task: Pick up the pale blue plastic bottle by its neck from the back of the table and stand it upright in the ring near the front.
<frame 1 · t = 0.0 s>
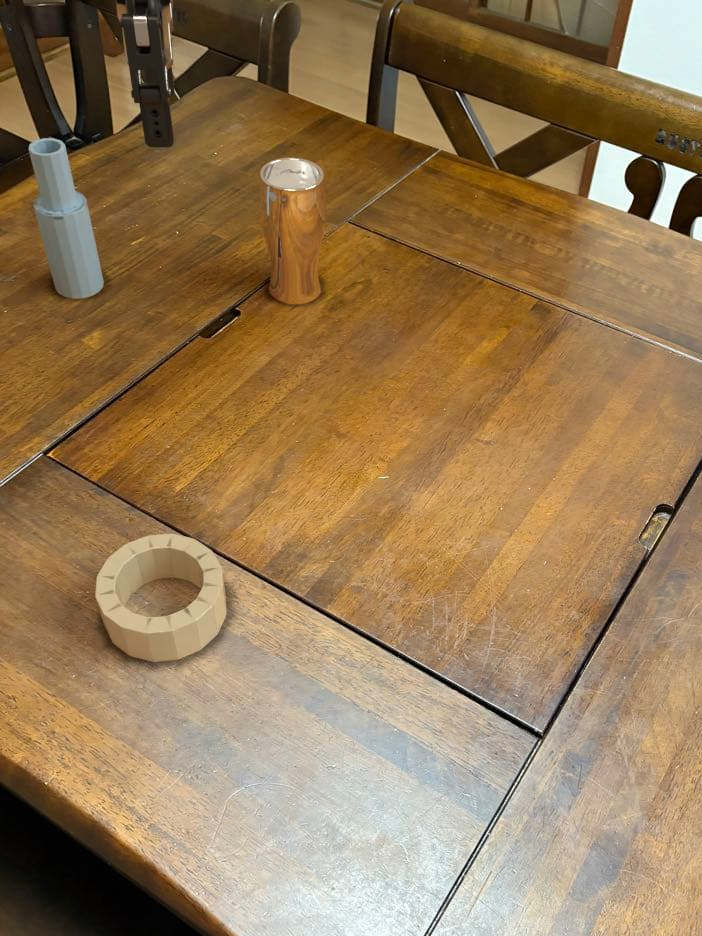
hand: (161, 119, 75), 27 cm above the table, tool pointing down, fingers open, 8 cm apart
beer glass: (295, 296, 106), on the table
ring: (167, 617, 76), on the table
bottle: (81, 291, 104), on the table
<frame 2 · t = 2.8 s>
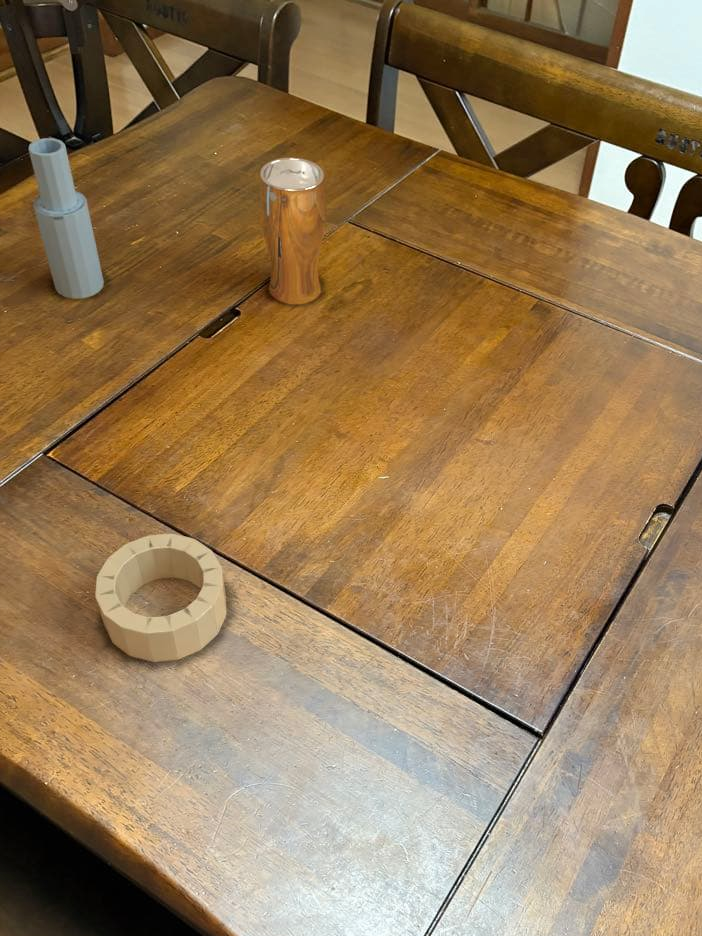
hand: (27, 50, 83), 26 cm above the table, tool pointing down, fingers open, 8 cm apart
nothing on the table moved.
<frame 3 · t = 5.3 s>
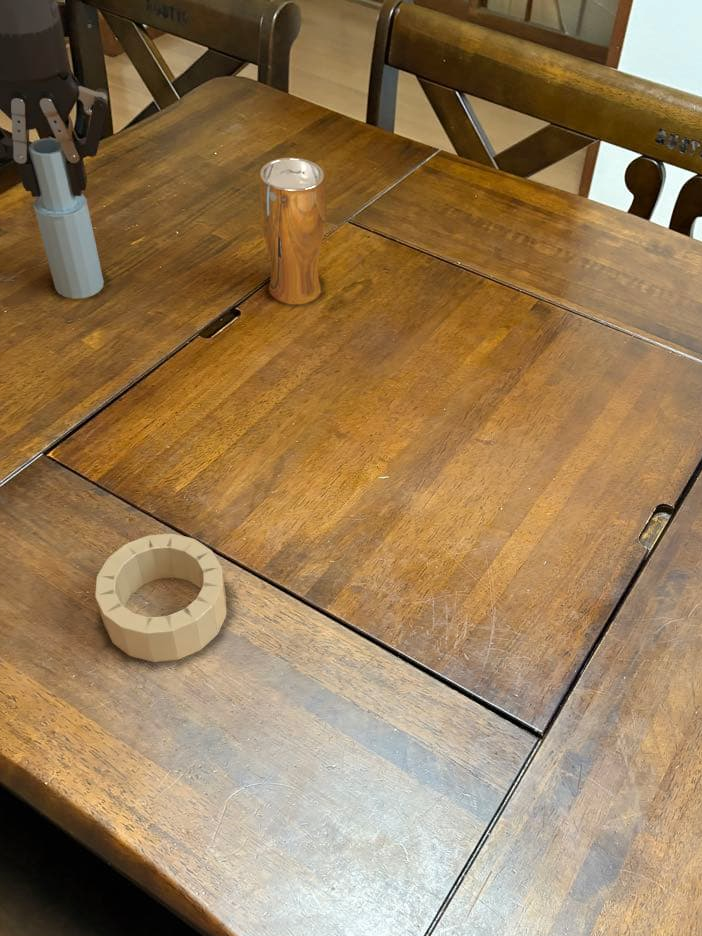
hand: (57, 191, 94), 12 cm above the table, tool pointing down, fingers closed on bottle, 3 cm apart
bottle: (81, 291, 104), on the table, touching gripper
everything else where it was.
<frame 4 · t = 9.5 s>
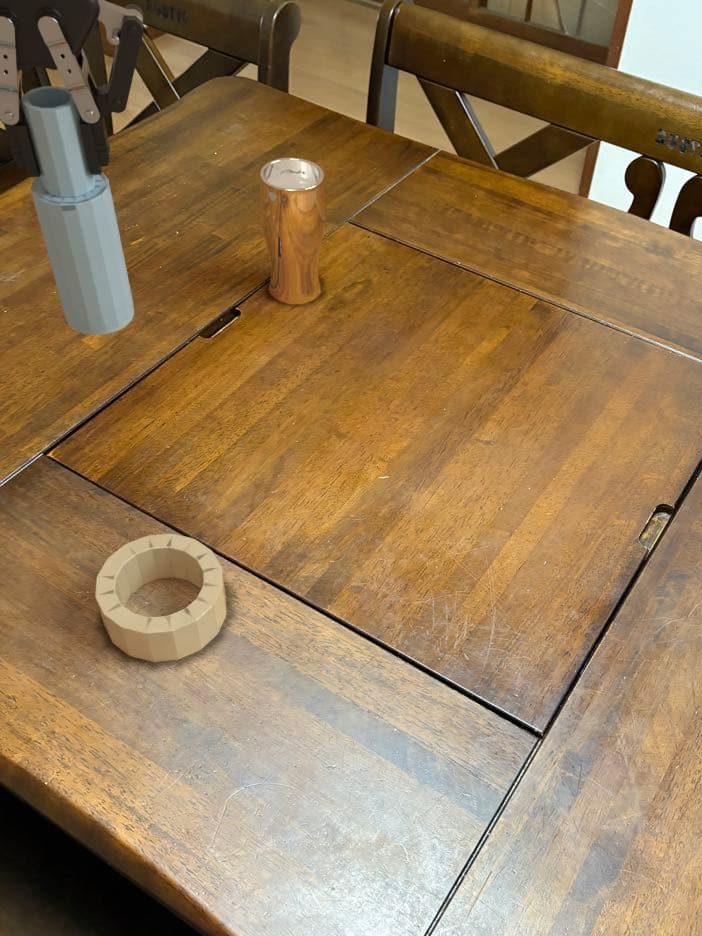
hand: (65, 169, 63), 31 cm above the table, tool pointing down, fingers closed on bottle, 3 cm apart
bottle: (100, 314, 72), point 18 cm above the table, touching gripper
everything else where it was.
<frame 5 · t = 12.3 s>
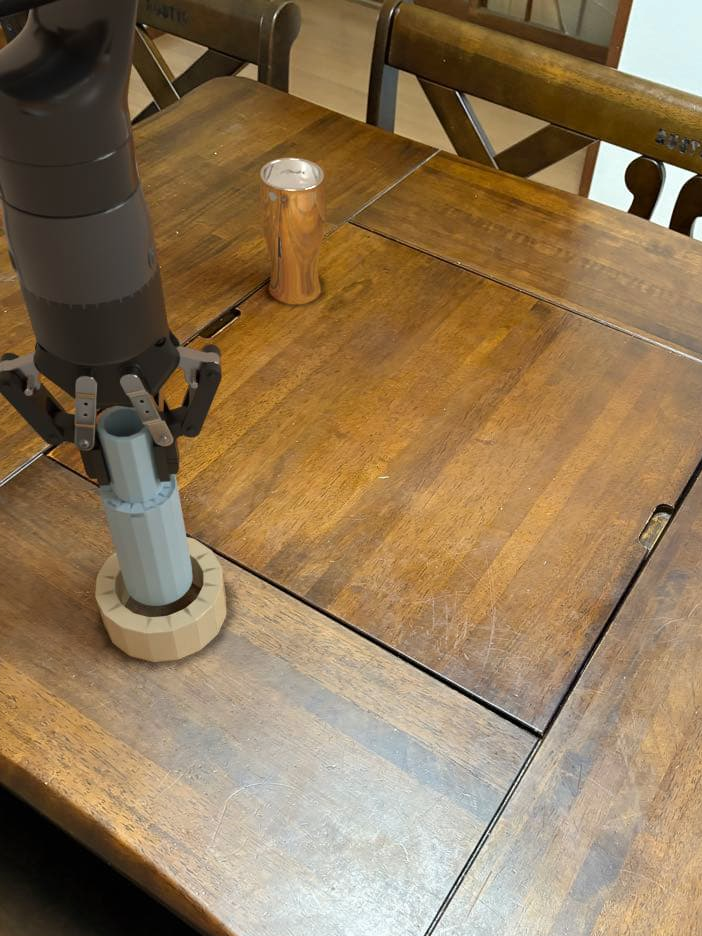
hand: (135, 474, 63), 17 cm above the table, tool pointing down, fingers closed on bottle, 3 cm apart
bottle: (159, 579, 73), point 5 cm above the table, touching gripper
everything else where it was.
when the fingers open (13 cm above the table, at t = 13.9 s): bottle stays where it is, resting on ring.
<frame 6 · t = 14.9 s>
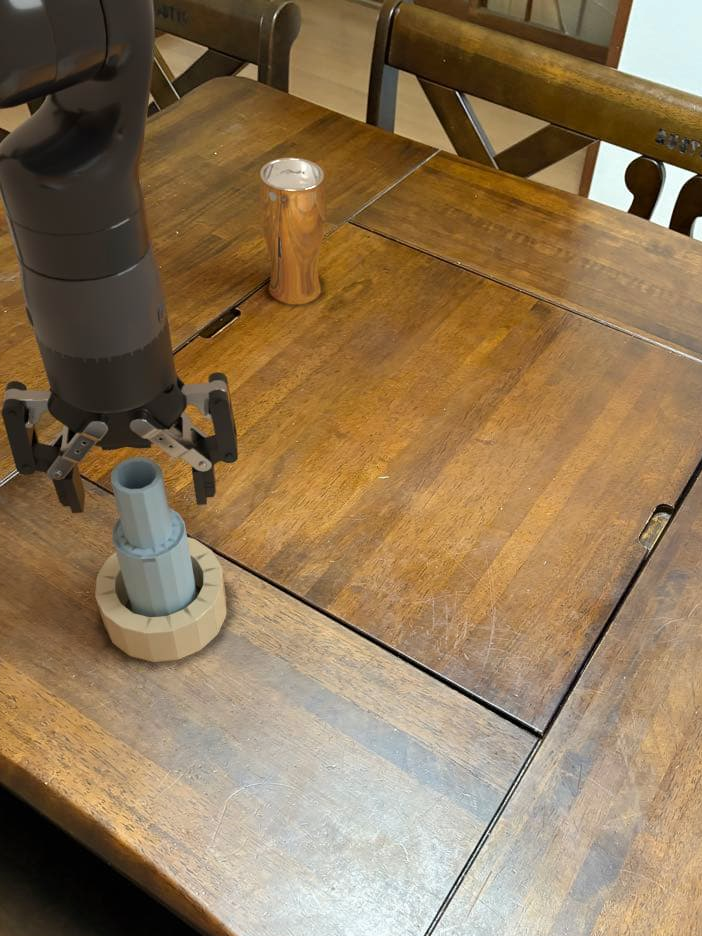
hand: (140, 500, 65), 15 cm above the table, tool pointing down, fingers open, 8 cm apart
bottle: (167, 615, 76), resting on ring
everything else where it was.
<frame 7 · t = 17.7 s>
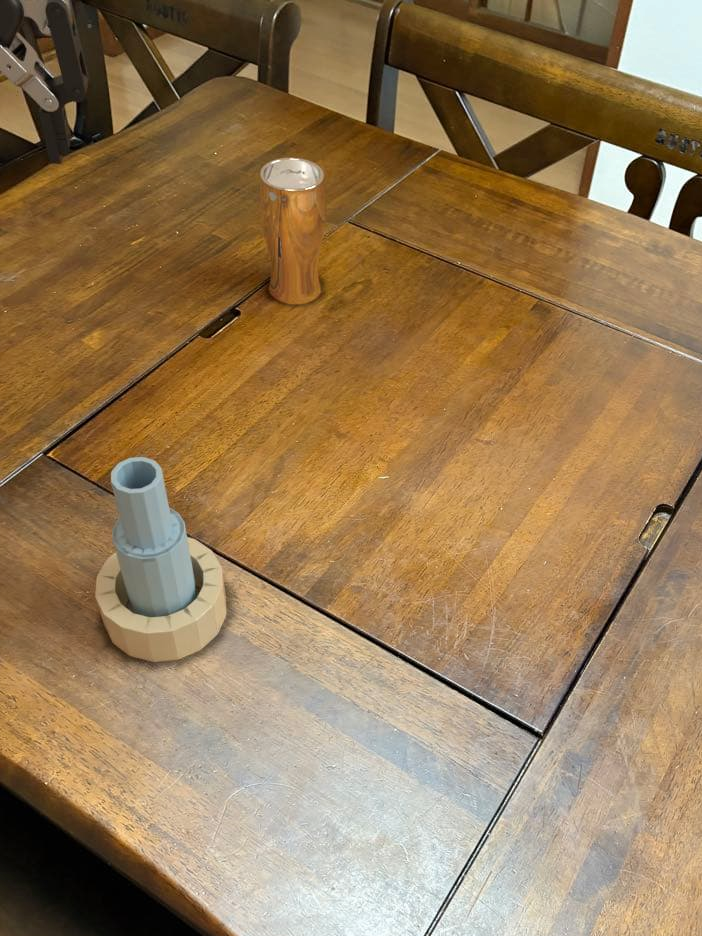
nothing on the table moved.
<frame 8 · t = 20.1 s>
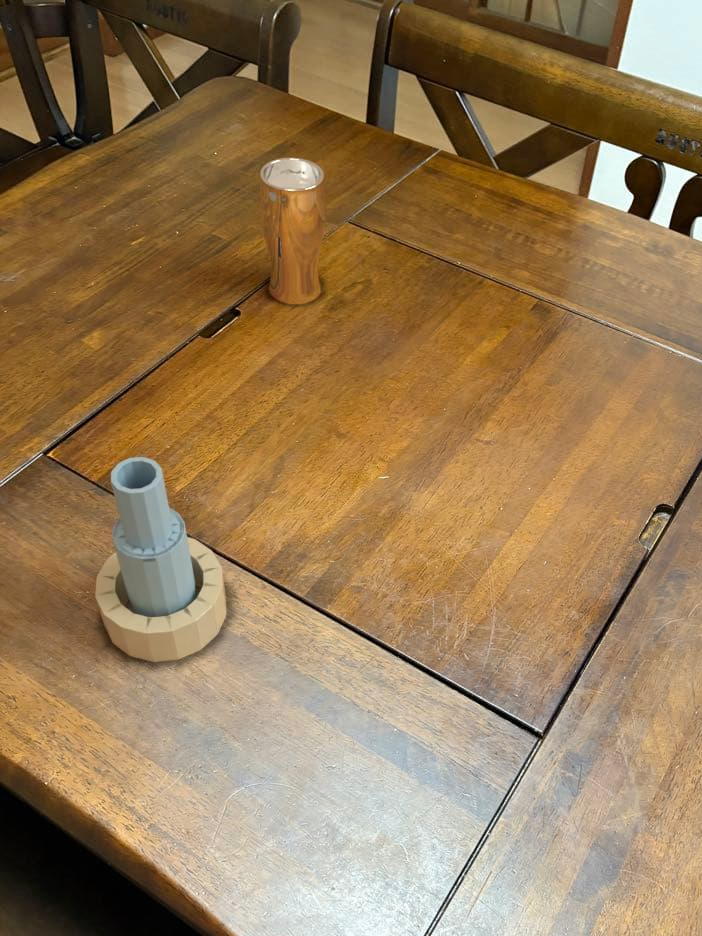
nothing on the table moved.
at the end: bottle 0.2 cm off-centre in the ring, point 0.5 cm above the ring's base; bottle tilted 0°; the gripper is holding nothing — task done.
